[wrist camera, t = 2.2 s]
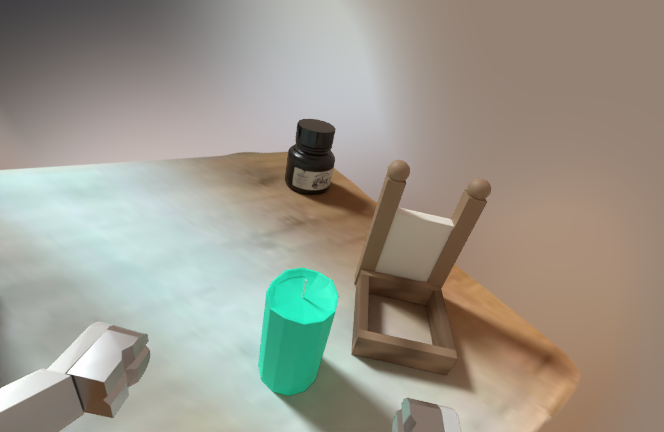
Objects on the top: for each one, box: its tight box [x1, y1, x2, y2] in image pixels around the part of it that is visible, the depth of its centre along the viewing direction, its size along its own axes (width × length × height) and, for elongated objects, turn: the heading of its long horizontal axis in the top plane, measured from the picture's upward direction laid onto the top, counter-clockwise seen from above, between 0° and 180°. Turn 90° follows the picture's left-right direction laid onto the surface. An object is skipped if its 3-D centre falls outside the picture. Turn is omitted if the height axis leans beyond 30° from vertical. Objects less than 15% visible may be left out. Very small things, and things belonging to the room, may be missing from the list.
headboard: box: [355, 160, 491, 288], centre depth 40 cm, size 11×2×18 cm, turn 84°
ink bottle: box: [285, 119, 335, 194], centre depth 61 cm, size 10×9×12 cm
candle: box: [258, 268, 339, 396], centre depth 29 cm, size 6×6×12 cm
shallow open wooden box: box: [352, 269, 458, 375], centre depth 38 cm, size 10×10×3 cm
